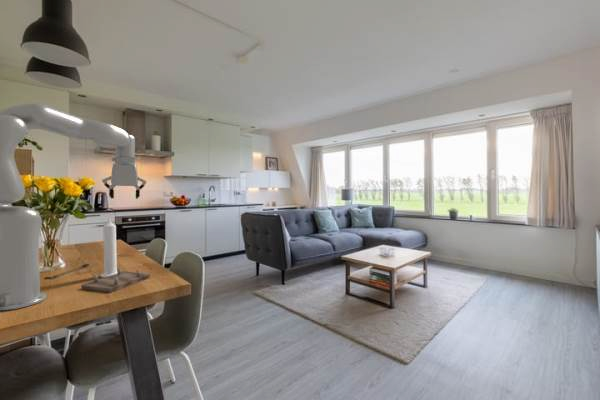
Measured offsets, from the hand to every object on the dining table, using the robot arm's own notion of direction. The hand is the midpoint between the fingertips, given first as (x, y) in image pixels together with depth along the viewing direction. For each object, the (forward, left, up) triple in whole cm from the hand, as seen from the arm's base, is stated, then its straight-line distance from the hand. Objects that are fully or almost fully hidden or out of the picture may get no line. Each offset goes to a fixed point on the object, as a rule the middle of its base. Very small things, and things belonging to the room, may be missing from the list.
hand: (124, 198), depth 127 cm
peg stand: (-15, -13, -33) cm, 39 cm away
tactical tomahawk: (-9, +20, -34) cm, 41 cm away
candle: (-8, -1, -33) cm, 34 cm away
